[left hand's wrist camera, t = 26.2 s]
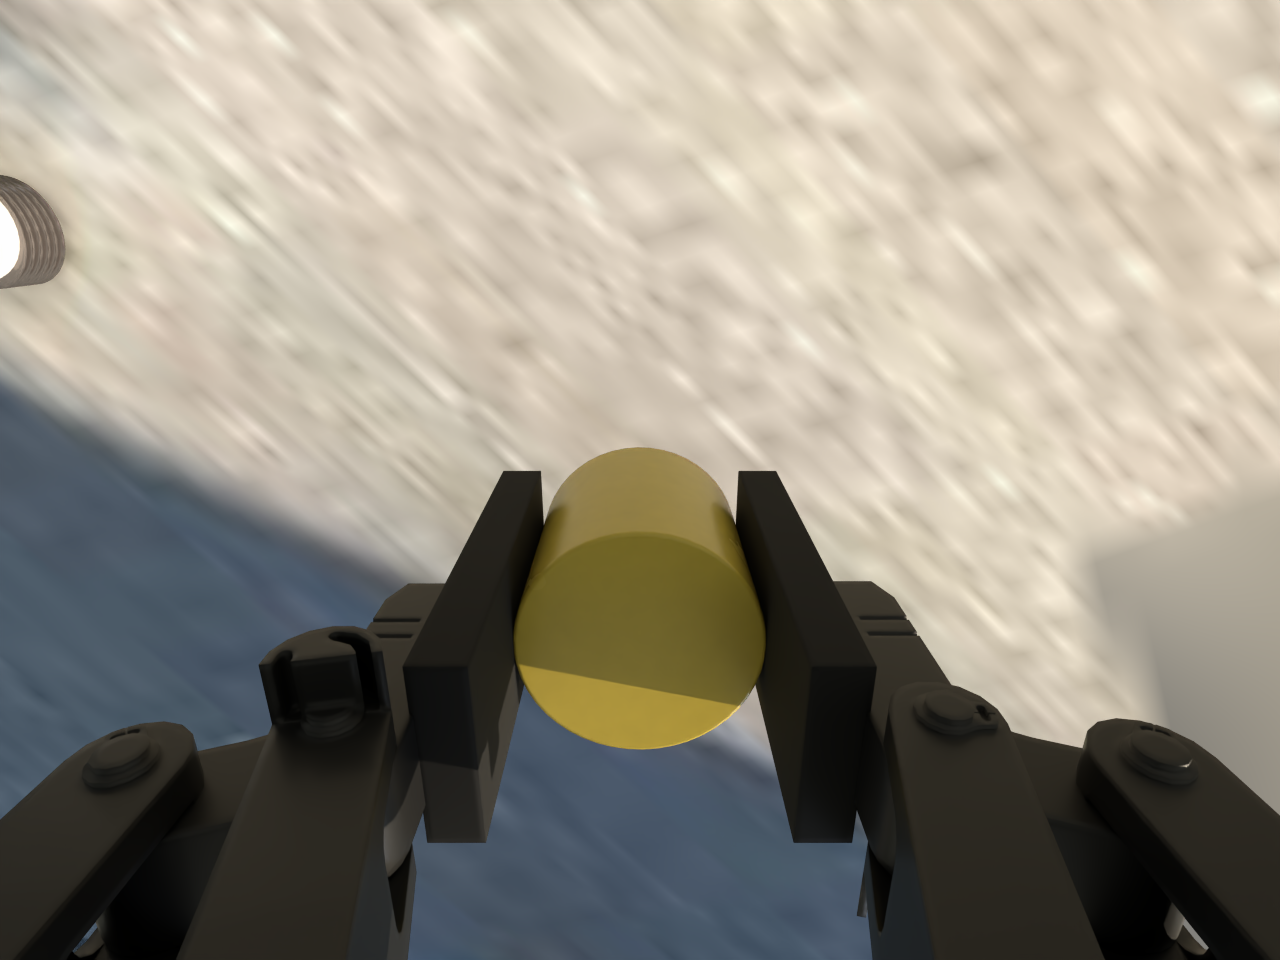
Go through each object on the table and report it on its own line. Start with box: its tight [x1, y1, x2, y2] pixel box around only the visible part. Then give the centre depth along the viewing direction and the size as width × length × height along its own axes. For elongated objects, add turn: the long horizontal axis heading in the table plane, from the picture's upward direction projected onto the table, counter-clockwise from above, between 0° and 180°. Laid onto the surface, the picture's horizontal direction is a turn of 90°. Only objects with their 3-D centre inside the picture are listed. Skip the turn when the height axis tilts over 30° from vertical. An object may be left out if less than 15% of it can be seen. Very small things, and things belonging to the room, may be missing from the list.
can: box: [513, 447, 766, 749], centre depth 13 cm, size 4×4×4 cm
